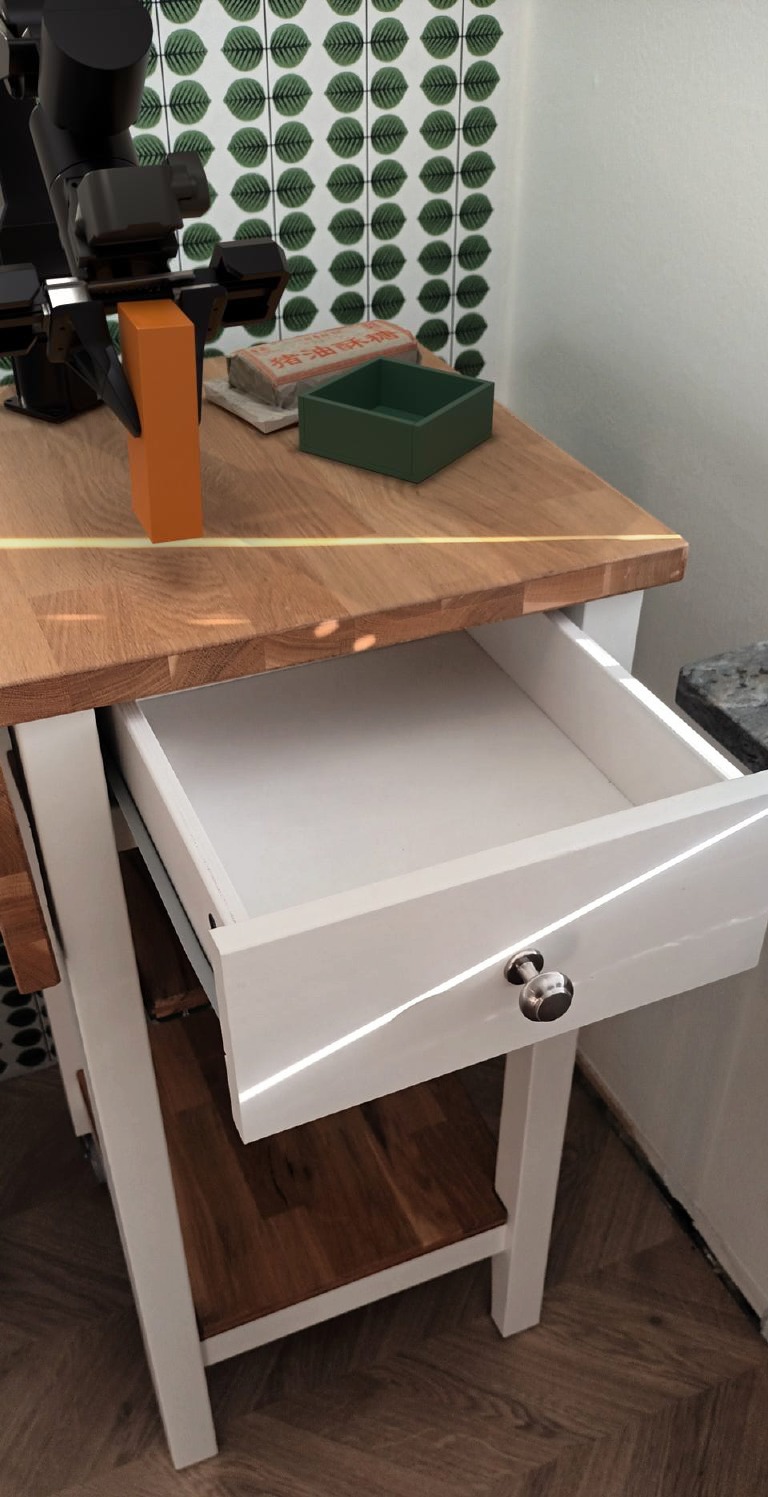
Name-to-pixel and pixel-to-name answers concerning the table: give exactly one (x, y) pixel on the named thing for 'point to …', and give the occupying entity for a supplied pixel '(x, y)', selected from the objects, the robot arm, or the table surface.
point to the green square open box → (396, 417)
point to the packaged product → (302, 369)
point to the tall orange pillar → (163, 418)
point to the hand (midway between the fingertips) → (167, 430)
